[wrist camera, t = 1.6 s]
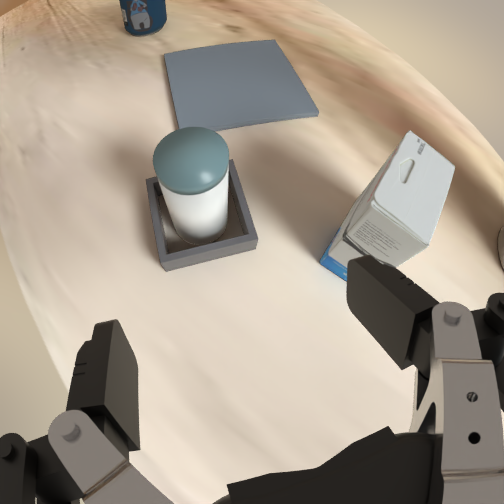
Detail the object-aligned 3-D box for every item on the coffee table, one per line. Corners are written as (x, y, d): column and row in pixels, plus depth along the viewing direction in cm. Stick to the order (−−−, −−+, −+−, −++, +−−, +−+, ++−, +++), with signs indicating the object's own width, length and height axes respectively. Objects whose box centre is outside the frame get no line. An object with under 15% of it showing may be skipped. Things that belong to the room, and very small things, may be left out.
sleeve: (231, 173, 31) (232, 159, 29) (255, 249, 29) (258, 238, 26) (151, 192, 30) (145, 179, 27) (166, 271, 27) (160, 263, 25)
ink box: (359, 292, 28) (431, 249, 17) (316, 262, 29) (367, 202, 18) (394, 225, 31) (458, 165, 20) (356, 198, 31) (408, 126, 20)
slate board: (274, 43, 40) (274, 39, 39) (317, 116, 35) (319, 111, 34) (164, 58, 37) (164, 54, 36) (181, 138, 32) (180, 133, 31)
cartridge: (220, 190, 30) (219, 120, 21) (233, 237, 29) (237, 177, 20) (169, 202, 30) (149, 136, 20) (179, 250, 28) (158, 195, 19)
